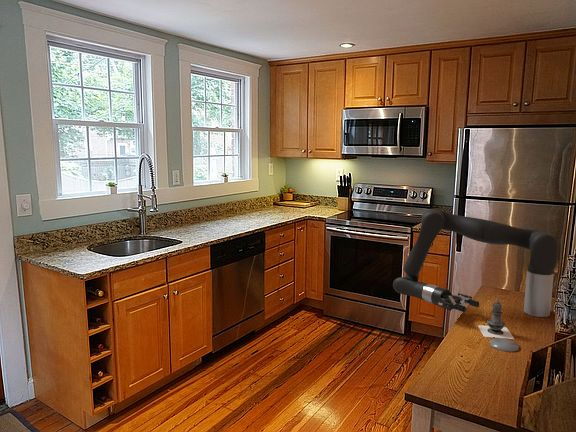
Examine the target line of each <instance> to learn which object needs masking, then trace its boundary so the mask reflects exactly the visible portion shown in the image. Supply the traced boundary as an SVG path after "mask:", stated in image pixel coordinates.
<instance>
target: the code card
mask: <svg viewBox="0 0 576 432" xmlns="http://www.w3.org/2000/svg"><path fill="white" fill-rule="evenodd" d="M477 327H478V328H479V330H480V332H481V334H482V335H483V337H484V338H493V337H495V338H503V339H508V340H510V339H511V340H515V338H514V336H513V335H512V333H511V332H510V330H509V329H508V328H507V327H506V326H504V327H503V329H501V330H502V331H503V334H501V335H496V334H492V333H489V332H488V331H487V330H488V329H489V328H490V327H489V325H479V324H478V325H477Z"/></svg>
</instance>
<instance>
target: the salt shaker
mask: <svg viewBox="0 0 576 432" xmlns="http://www.w3.org/2000/svg"><path fill="white" fill-rule="evenodd" d="M502 305H503V304H502V303H501V302H500V301H499V300H496V302H493V304H492V310H491V317H490V318H489V319H488V320H487V321H486V322H487V324H488V325H487V326H489V327H490V328H489V329H488V330H487V331H488V332H489V333H492V334H496V335H501V334H503V331H502V330H501V329H503V327H505V325H506V323H505V322H504V320H502V315H503V312H502V308H503V306H502Z"/></svg>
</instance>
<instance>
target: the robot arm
mask: <svg viewBox="0 0 576 432" xmlns="http://www.w3.org/2000/svg"><path fill="white" fill-rule="evenodd" d="M420 221H421V222H420V229H419V233H418V236H417V239H416V240H415V243H414V245H413V247H412V248H411V250H410V251H409V253H408V256H407V258H406V261H405V263H404V265H403V271H404V272H405V273H406V275H405V276H401V277H397V278H395V279H394V280H393V283H392V288H393V290H395V292H396V293H398V294H401V295H404V296H409V297H415V298H417V299H420V300H423V301H425V302H427V303H429V304H432V305H436V306H438V307H439V308H442V309H444V310H448V311H450V312H451V311H452V310H453V311H459V312H462V313H466V312H467V307H466V306H465V305H469V306H472V307H475V308H480V301H477V300H474V299H473V296H471V295H467V294H464V293H460V292H459V293H457V294H452V293H451V292H452V291H450V290H449V289H448V288H445V287H441V286H438V285H435V284H430V283H427V282H423V281H419V278H420V277H419V276H420V272H421V270H422V268H423V265H424V263H425V261H426V259H427V255H428V253H429V251H430V249H431V246H432V244H433V242H434V241H435V240H436V238H437V237H438V235H439V234H440V232H441V231H442V230H443V231H448V232H449V231H450V232H452V233H456V234H459V235H461V236H463V237H466V238H467V239H470V240H472V241H473V240H474V241H476V242H480V243H486V244H489V245H501V246H502V245H504V246H505V245H510V246H517V247H520V248H522V249H523V248H524V249H526V250H529V251H530V256H529V262H528V263H527V268H526V279H525V293H524V301H523V302H524V303H523V312H524V313H525V314H527V315H529V316H532V317H533V316H534V317H537V318H538V317H539V318H547V317H549V316H550V315H551V307H552V306H551V305H552V295H553V294H552V293H553V285H554V275H555V269H556V266H557V262H558V254H559V242H558V240H557V238H555V236H553V235H552V234H551V233H549V232H547V231H544V230H535V229H528V228H520V227H515V226H512V225H509V224H506V223H501V222H497V221H493V220H488V219H483V218H478V217H471V216H465V215H464V216H463V215H458V214H455V213H451V212H447V211H445V210H441V209H438V208H429V209H426V210H425V211H424V212H422V215H421V220H420Z"/></svg>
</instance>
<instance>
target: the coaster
mask: <svg viewBox="0 0 576 432" xmlns="http://www.w3.org/2000/svg"><path fill="white" fill-rule="evenodd" d="M489 343H490V344H489V345H490V346H491V347H492V348H493V349H496V350H498V351H500V352H507V353H513V352H517V351H519V350H520V346H519V344H518V343H517V342H515V341H513V340H512V339H511V340H510V339H507V338H491V339H490V340H489Z"/></svg>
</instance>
